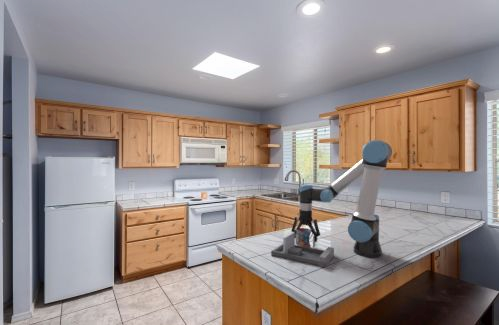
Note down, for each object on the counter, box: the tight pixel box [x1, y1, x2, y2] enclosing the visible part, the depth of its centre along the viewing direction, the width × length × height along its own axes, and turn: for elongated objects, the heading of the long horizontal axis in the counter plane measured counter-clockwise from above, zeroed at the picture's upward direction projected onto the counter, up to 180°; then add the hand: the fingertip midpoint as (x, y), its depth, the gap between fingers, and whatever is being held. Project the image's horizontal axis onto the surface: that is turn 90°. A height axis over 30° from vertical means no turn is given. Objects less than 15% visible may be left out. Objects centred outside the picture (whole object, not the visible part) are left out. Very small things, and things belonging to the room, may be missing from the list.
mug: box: [295, 227, 314, 248], centre depth 158 cm, size 12×9×11 cm
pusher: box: [282, 231, 302, 256], centre depth 145 cm, size 7×14×10 cm, turn 148°
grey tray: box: [270, 243, 335, 269], centre depth 142 cm, size 30×17×5 cm, turn 58°
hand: (305, 245), depth 158 cm, fingers open, 10 cm apart
